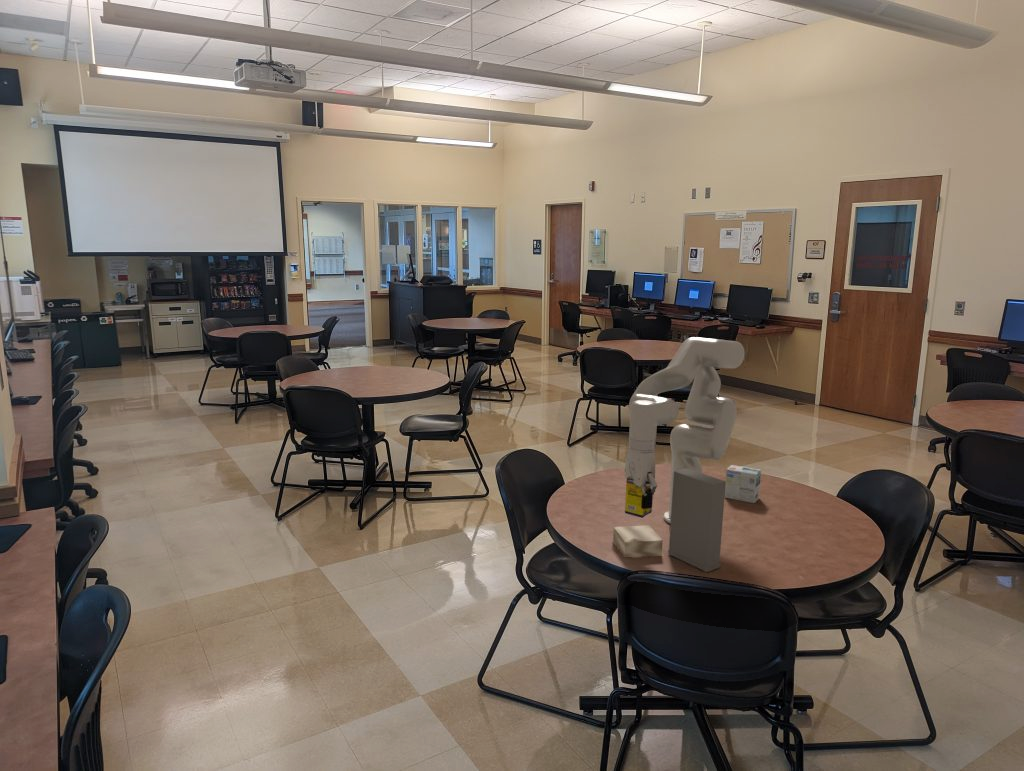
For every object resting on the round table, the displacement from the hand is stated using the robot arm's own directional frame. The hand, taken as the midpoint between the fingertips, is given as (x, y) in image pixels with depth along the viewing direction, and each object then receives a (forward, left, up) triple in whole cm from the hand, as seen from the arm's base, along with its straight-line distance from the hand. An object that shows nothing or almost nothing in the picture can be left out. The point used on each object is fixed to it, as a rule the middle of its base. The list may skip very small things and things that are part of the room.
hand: (638, 502), depth 199 cm
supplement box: (0, 0, -3) cm, 3 cm away
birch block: (0, 0, -15) cm, 15 cm away
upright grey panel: (-12, +12, -14) cm, 22 cm away
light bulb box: (-56, -27, -14) cm, 64 cm away
